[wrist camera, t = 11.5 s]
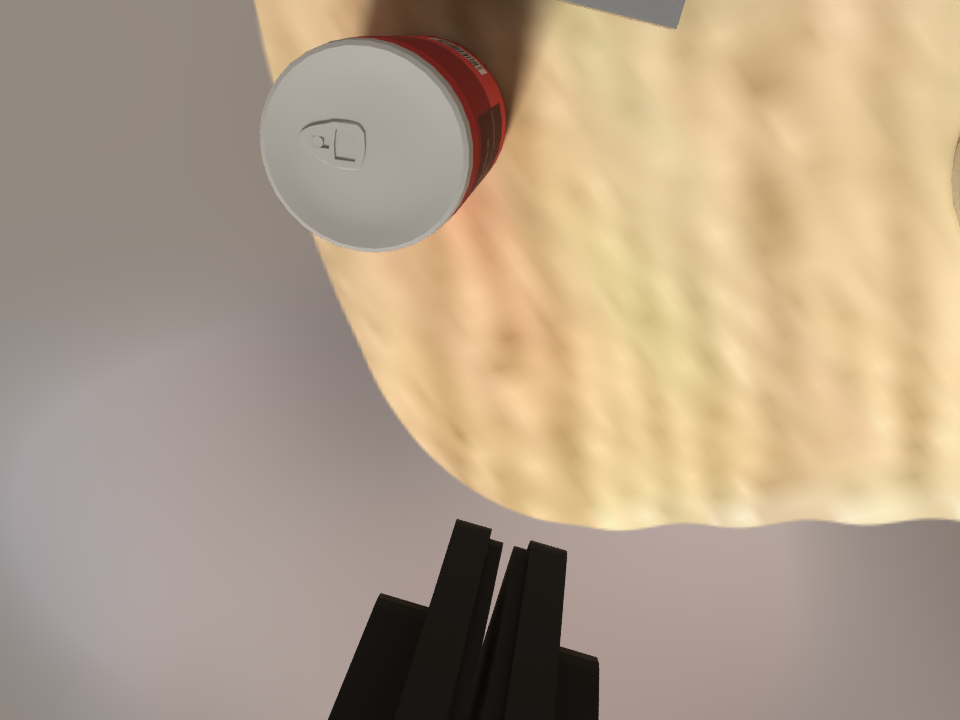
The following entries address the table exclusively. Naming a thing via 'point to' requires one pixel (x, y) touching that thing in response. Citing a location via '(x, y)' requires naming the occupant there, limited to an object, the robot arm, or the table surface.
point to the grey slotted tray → (638, 10)
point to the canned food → (381, 137)
